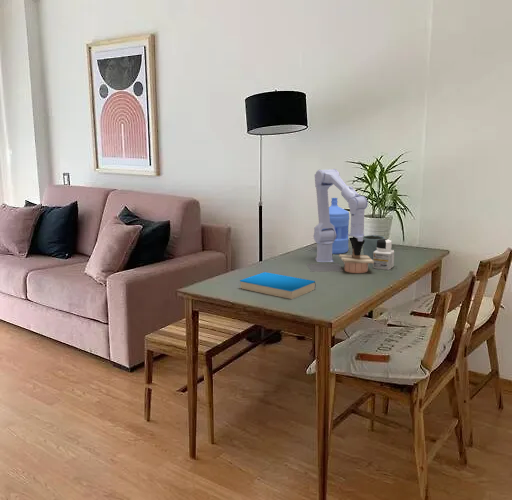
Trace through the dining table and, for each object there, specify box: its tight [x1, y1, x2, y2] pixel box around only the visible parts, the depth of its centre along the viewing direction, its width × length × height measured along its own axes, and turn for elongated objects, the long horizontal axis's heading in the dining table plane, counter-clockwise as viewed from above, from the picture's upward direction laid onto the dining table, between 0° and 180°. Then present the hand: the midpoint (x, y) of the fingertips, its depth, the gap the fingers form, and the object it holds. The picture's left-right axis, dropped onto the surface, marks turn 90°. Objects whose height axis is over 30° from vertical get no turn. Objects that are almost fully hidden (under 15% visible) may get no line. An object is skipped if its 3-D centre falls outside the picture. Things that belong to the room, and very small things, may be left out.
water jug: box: [322, 197, 350, 255], centre depth 277 cm, size 16×16×28 cm
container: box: [372, 238, 395, 271], centre depth 243 cm, size 8×8×13 cm
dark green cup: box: [362, 234, 386, 260], centre depth 254 cm, size 10×10×12 cm
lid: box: [338, 248, 374, 264], centre depth 235 cm, size 13×13×5 cm
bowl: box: [343, 262, 369, 274], centre depth 236 cm, size 10×10×5 cm
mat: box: [306, 262, 345, 273], centre depth 242 cm, size 15×15×1 cm
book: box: [239, 271, 317, 300], centre depth 210 cm, size 17×4×25 cm
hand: (356, 254), depth 235 cm, fingers closed on lid, 3 cm apart
